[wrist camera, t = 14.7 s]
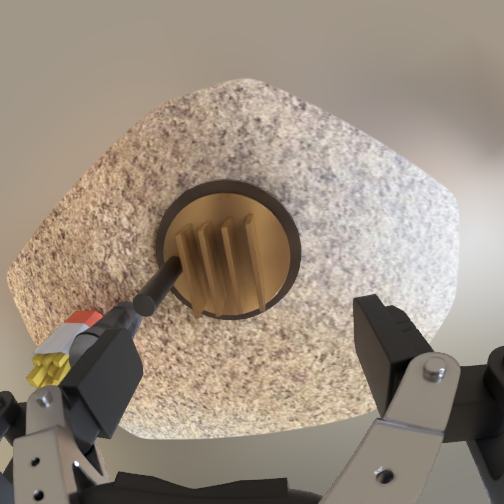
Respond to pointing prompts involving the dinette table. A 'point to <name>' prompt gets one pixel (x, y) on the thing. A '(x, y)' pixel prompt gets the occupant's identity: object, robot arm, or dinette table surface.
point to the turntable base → (256, 194)
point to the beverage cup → (114, 318)
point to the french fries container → (59, 350)
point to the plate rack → (220, 257)
